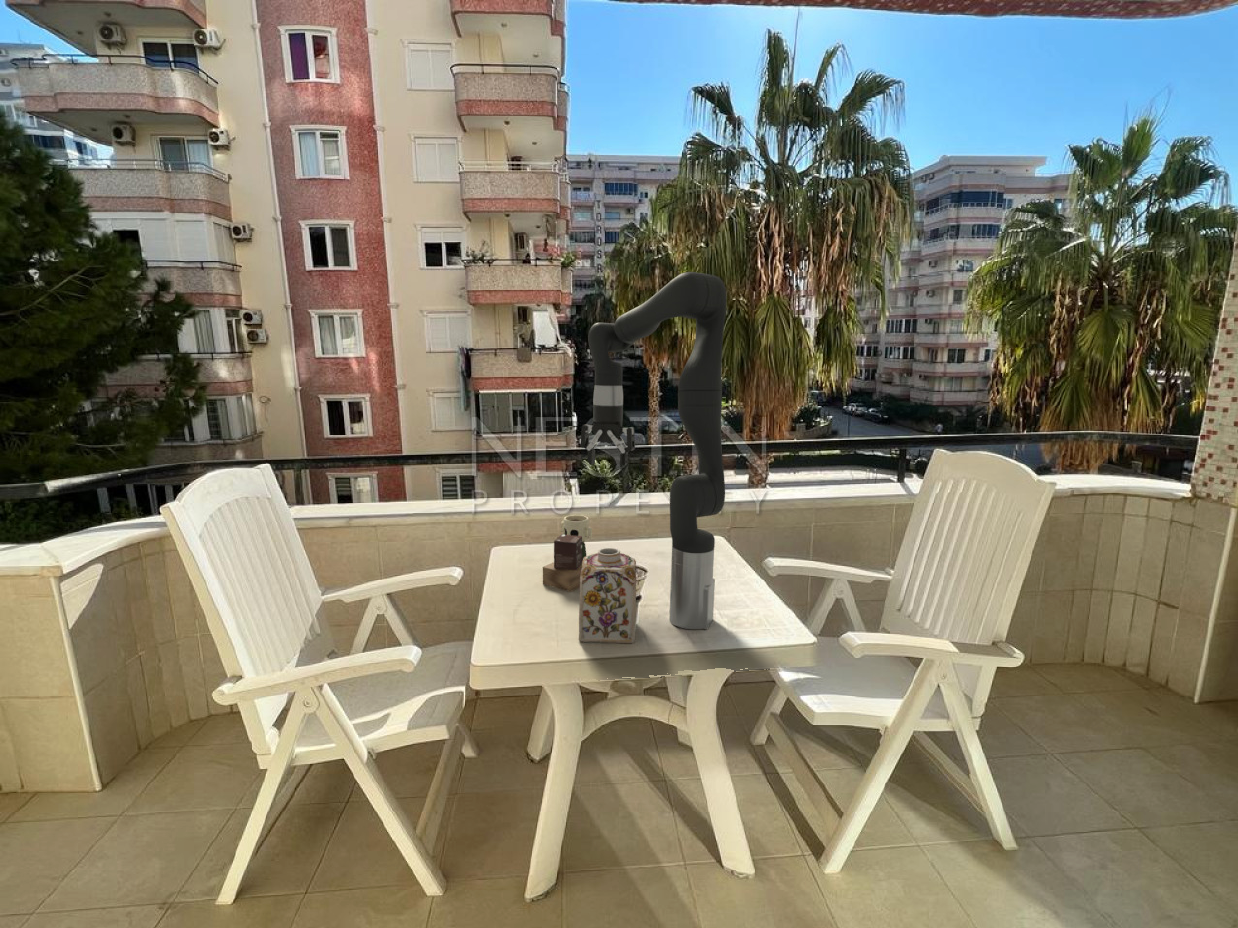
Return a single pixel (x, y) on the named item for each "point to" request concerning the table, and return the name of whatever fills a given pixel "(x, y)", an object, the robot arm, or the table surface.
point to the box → (568, 552)
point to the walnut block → (561, 577)
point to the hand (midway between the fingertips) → (607, 465)
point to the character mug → (577, 528)
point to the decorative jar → (607, 597)
